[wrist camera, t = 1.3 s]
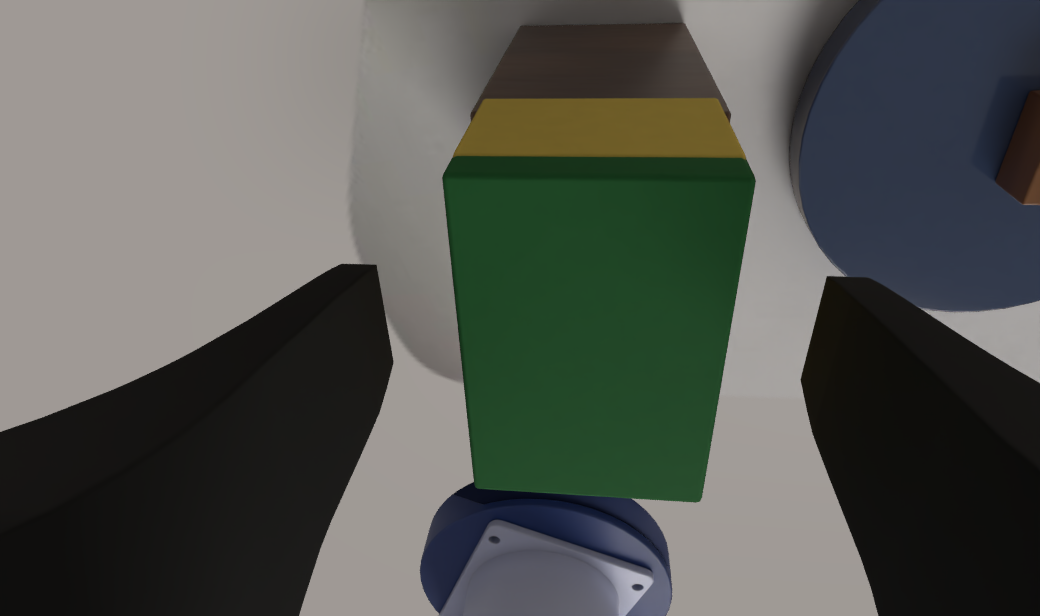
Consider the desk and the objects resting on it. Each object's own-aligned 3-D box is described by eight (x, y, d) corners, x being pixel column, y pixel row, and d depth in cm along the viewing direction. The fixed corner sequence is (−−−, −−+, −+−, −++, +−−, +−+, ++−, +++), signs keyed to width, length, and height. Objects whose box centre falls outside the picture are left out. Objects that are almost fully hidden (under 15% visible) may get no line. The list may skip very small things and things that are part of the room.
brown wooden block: (525, 207, 21) (488, 359, 15) (519, 25, 18) (469, 112, 12) (667, 210, 21) (695, 368, 14) (685, 22, 18) (732, 111, 11)
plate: (760, 287, 22) (767, 307, 21) (835, -102, 16) (850, -101, 15) (1123, 297, 21) (1149, 319, 20) (1352, -121, 15) (1407, -121, 14)
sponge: (500, 368, 15) (473, 490, 12) (482, 97, 11) (440, 174, 9) (682, 376, 14) (701, 505, 11) (718, 96, 11) (758, 177, 8)
